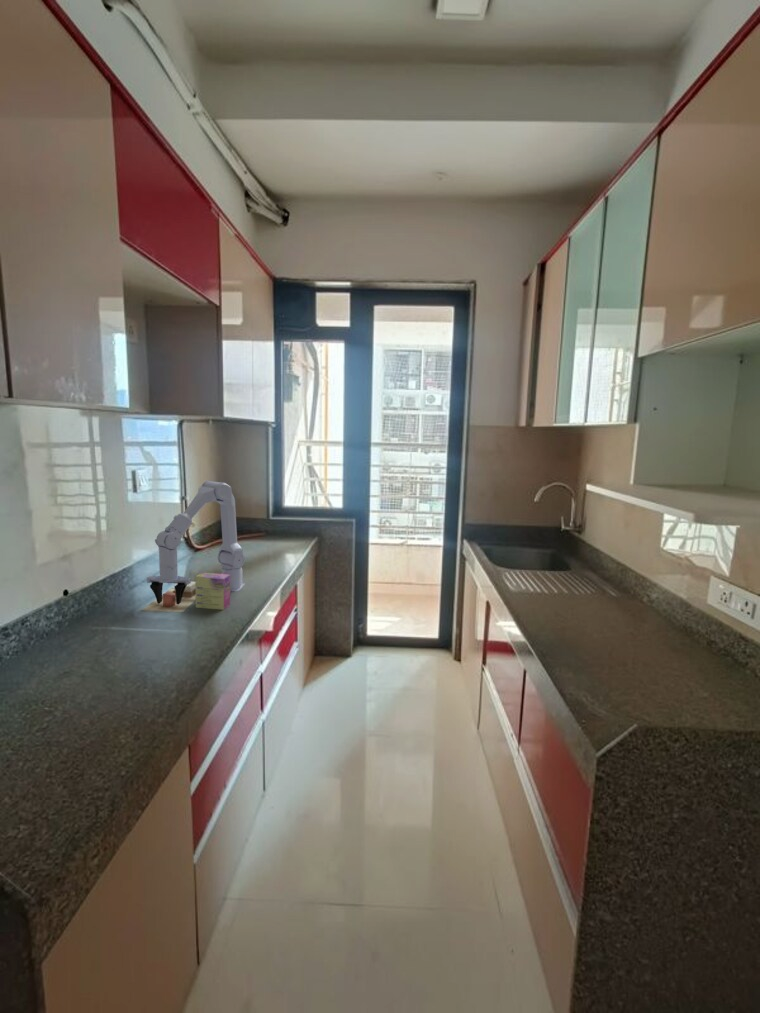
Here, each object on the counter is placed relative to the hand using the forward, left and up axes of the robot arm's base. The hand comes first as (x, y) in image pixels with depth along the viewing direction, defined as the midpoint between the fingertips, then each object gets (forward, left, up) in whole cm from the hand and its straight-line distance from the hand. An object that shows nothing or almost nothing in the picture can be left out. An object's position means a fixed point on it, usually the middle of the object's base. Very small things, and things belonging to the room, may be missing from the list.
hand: (169, 602), depth 166 cm
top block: (-12, +1, +1) cm, 12 cm away
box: (-1, +15, -2) cm, 15 cm away
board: (-6, 0, -1) cm, 6 cm away
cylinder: (0, 0, -1) cm, 1 cm away
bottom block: (-12, +1, -1) cm, 12 cm away
